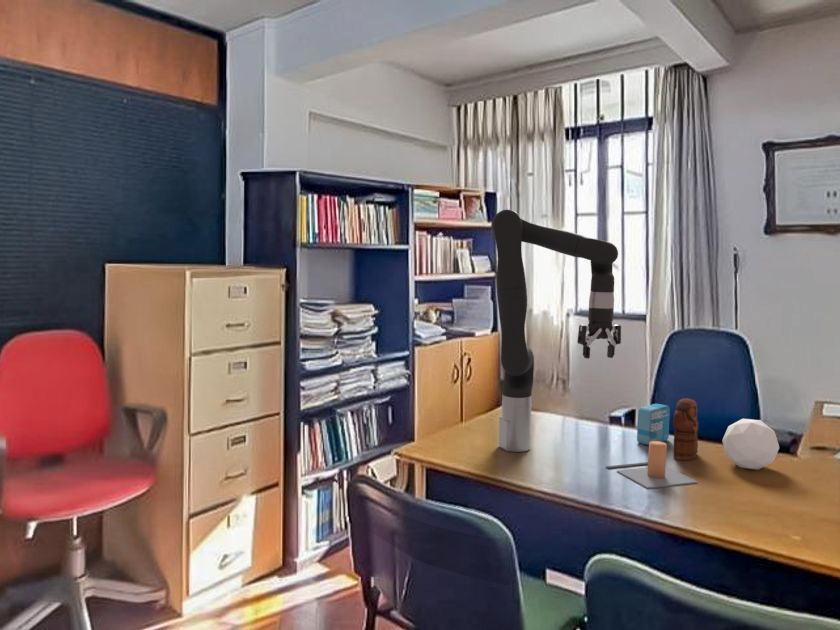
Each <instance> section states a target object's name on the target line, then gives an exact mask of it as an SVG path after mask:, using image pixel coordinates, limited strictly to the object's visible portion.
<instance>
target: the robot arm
mask: <svg viewBox="0 0 840 630" xmlns="http://www.w3.org/2000/svg"><path fill="white" fill-rule="evenodd" d="M490 228H491V231H492V233H493V235H494V238H495V245H496V251H497V253H496V254H497V266H496V282H495V283H496V285H495V286H496V297H497V309H498V316H499V317H498V319H499V324H500V331H501V332H500V333H501V345H500V347H501V348H500V350H501V351H500V362H501V363H500V364H501V366H502V369H503V370H504V381H503V384H502V388H501V389H502V392H501V395H502V397H501V398H502V399H501V416H499V417H498V420H499V421H498V446H499V447H500V448H501V449H502V450H503V451H505V452H519V453H521V452H527V451H529V450H530V449H531V443H532V441H531V438H532V437H531V435H532V434H531V429H532V393H533V386H534V371H535V357H534V356H535V355H534V352H533V351H532V349H531V348H530V347H529V346H528V345H527V343H526V341H527V340H526V331H525V328H526V327H525V326H526V318H527V311H528V291H527V282H526V280H527V279H526V273H525V268H524V267H525V266H524V261H523V257H522V243H527V244H531V245H536V246H537V247H542V248H545V249H548V250H550V251H554V252H557V253H559V254H563V255H567V256H569V257H575V258H582V259H585V260H587V261H590V270H591V272H590V273H591V278H590V293H589V299H588V317H587V319H588V320H587V321H588V325H584V324H579V326H578V333H577V334H578V335H577V344H579V345H582V357H584V359H587V360H589V359H590V358H591V345H592V343H593V342H594V341H595V340H600V339H602V340H604V341H606V343H607V353H606V356H607V358H608V359H611V358H612V359H613V358H614V356H615V349H616V345H621V343H622V326H621V325H620V324H613V321H614V310H615V309H614V307H615V296H614V295H615V294H614V293H615V276H614V274H613V265H614V264H613V263H614V262H616V260H617V259H618V255H619V250H618V248H617V246H616V245H615V244H613V243H612V242H609V241H606V240H601V239H596V238H592V237H588V236H584V235H582V234H578V233H576V232H573V231H568V230H565V229H560V228H555V227H550V226H549V227H548V226H544V225H540V224H536V223H532V222H530V221H528V220H525V219H523V218H521V216H520V215H519V214H518V212H516V211H515V210H513V209H509V208H507V209H503V210H501V211H498V212H497V213H496V214H495V215H494V217H493V218H492V220H491V225H490ZM587 332H588V333H587ZM611 332H612V333H611Z"/></svg>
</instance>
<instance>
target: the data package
mask: <svg viewBox="0 0 840 630" xmlns="http://www.w3.org/2000/svg"><path fill="white" fill-rule="evenodd" d="M670 413H671V408H670V406H669V405H666V404H660V403H652V404H649V405H645V406H641V407H639V409H638V411H637V427H636V428H637V430H636V431H637V432H636V433H637V435H636V441H637V442H638V444H642V445H647V446H649V442H651V441H659V442H663V443H665V442H666V441H668V439H669V437H670V435H669V434H670V417H671V415H670Z"/></svg>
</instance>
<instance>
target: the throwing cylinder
mask: <svg viewBox="0 0 840 630" xmlns="http://www.w3.org/2000/svg"><path fill="white" fill-rule="evenodd" d="M667 446H668V444H667V443H665V442H659V441H651V442H649V445H648V457H647V458H648V459H647V462H648V465H647V467H648V474H647V475H648V476H649V477H652V478H657V479H662V478H665V467H667V466H666V463H667V449H668V448H667Z"/></svg>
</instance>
